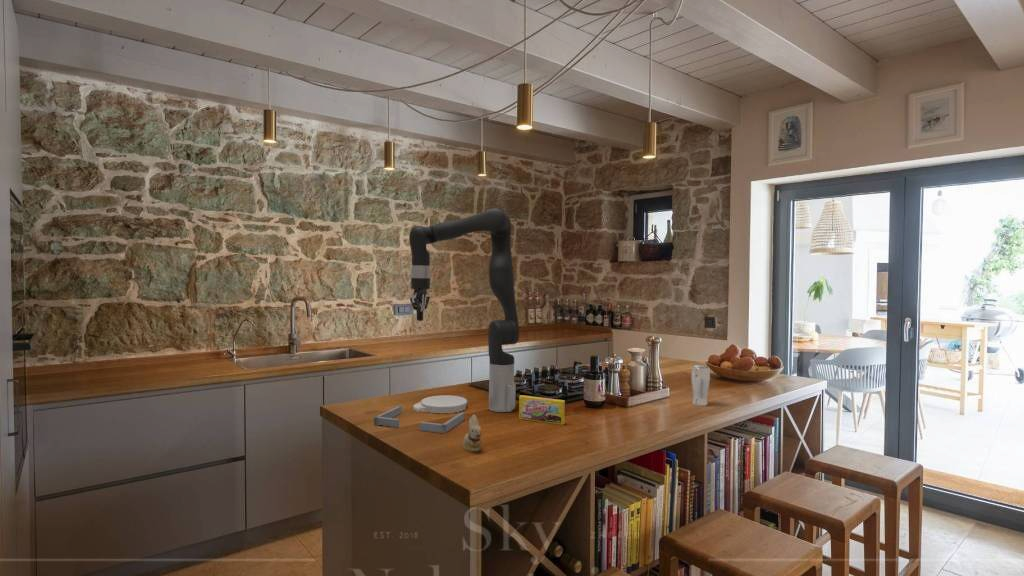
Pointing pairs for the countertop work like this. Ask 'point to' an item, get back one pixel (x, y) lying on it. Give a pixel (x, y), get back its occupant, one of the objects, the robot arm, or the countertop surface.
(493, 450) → the countertop surface
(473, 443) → the chocolate bunny
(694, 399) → the beer glass
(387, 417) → the lid holder
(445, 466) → the countertop surface
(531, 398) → the candy box
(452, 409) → the lid
